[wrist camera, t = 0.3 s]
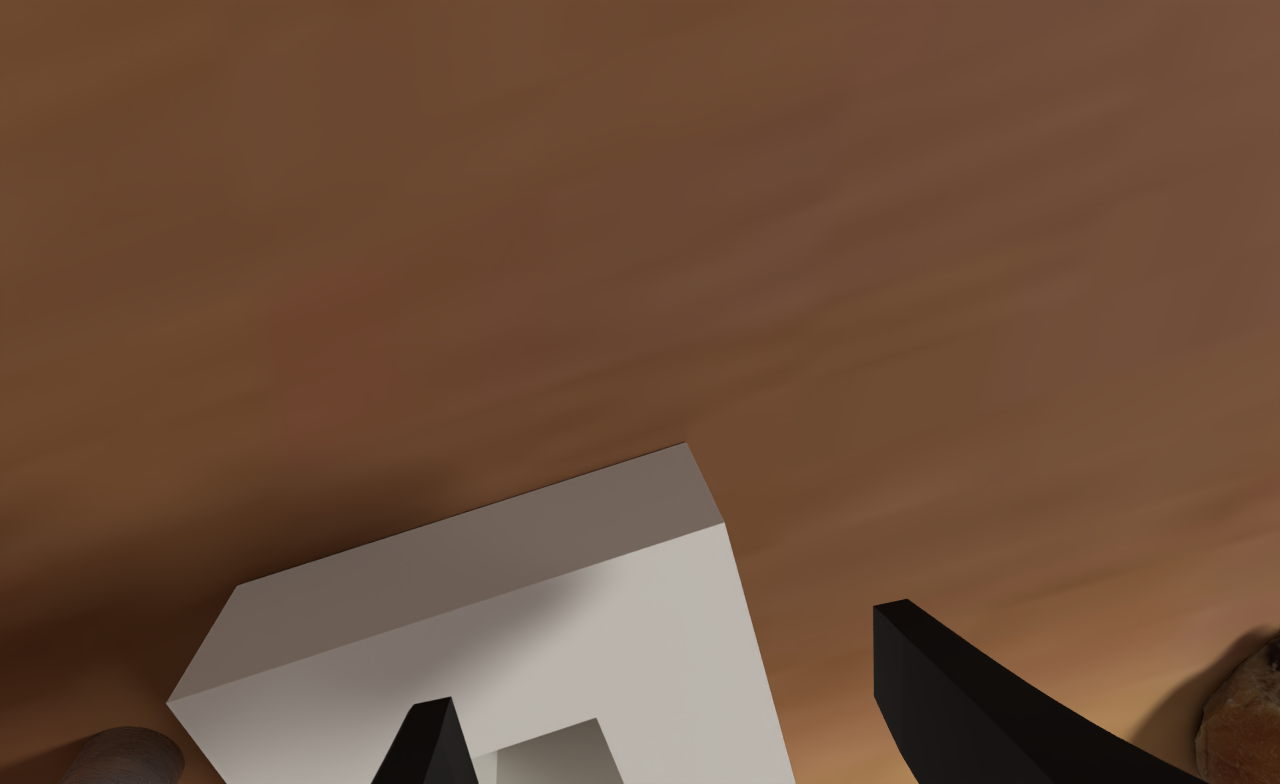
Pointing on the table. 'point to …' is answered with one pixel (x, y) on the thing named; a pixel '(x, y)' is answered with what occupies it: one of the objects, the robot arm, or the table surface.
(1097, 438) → the table surface
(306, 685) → the hole block
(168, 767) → the short steel pin
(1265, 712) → the bread roll
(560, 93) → the table surface
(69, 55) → the table surface
